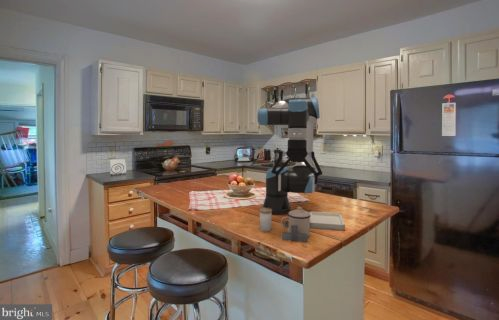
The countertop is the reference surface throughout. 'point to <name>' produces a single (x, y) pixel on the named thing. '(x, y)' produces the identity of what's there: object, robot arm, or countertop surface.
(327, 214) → the tray
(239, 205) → the countertop surface
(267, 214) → the jar
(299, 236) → the clip cradle
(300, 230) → the teacup with lid
